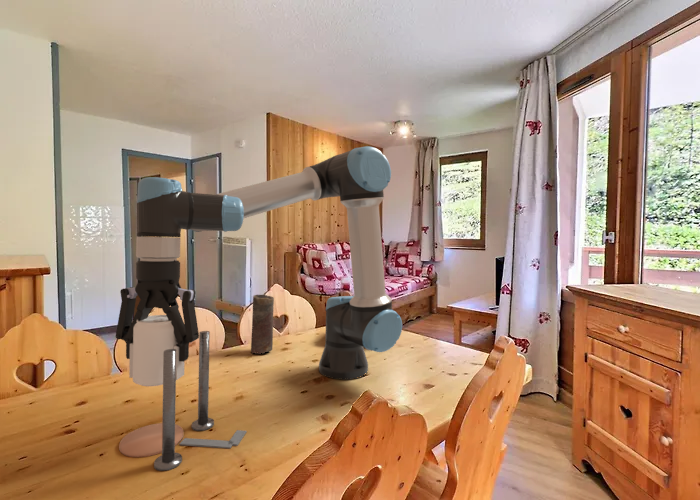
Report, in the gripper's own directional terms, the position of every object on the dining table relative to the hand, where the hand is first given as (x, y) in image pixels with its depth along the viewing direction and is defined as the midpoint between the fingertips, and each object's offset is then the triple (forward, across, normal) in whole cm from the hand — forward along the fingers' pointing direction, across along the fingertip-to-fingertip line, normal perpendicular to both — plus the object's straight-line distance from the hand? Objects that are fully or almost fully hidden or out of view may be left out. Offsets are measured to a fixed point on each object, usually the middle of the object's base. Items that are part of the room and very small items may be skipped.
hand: (157, 376), depth 70 cm
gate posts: (+13, -6, 0) cm, 14 cm away
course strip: (+13, -11, -2) cm, 17 cm away
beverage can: (+1, 0, 0) cm, 1 cm away
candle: (+13, -3, -57) cm, 59 cm away
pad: (+13, +1, 0) cm, 13 cm away
